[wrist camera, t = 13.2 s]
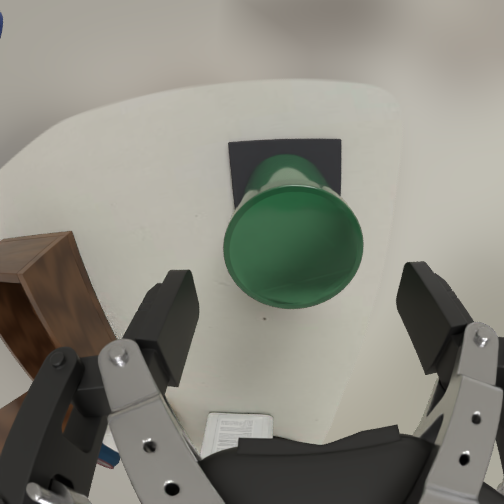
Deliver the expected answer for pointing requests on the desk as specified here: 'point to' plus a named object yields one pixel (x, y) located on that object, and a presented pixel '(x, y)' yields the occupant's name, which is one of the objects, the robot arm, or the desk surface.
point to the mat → (254, 152)
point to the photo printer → (233, 430)
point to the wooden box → (48, 300)
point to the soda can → (108, 457)
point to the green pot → (292, 236)
